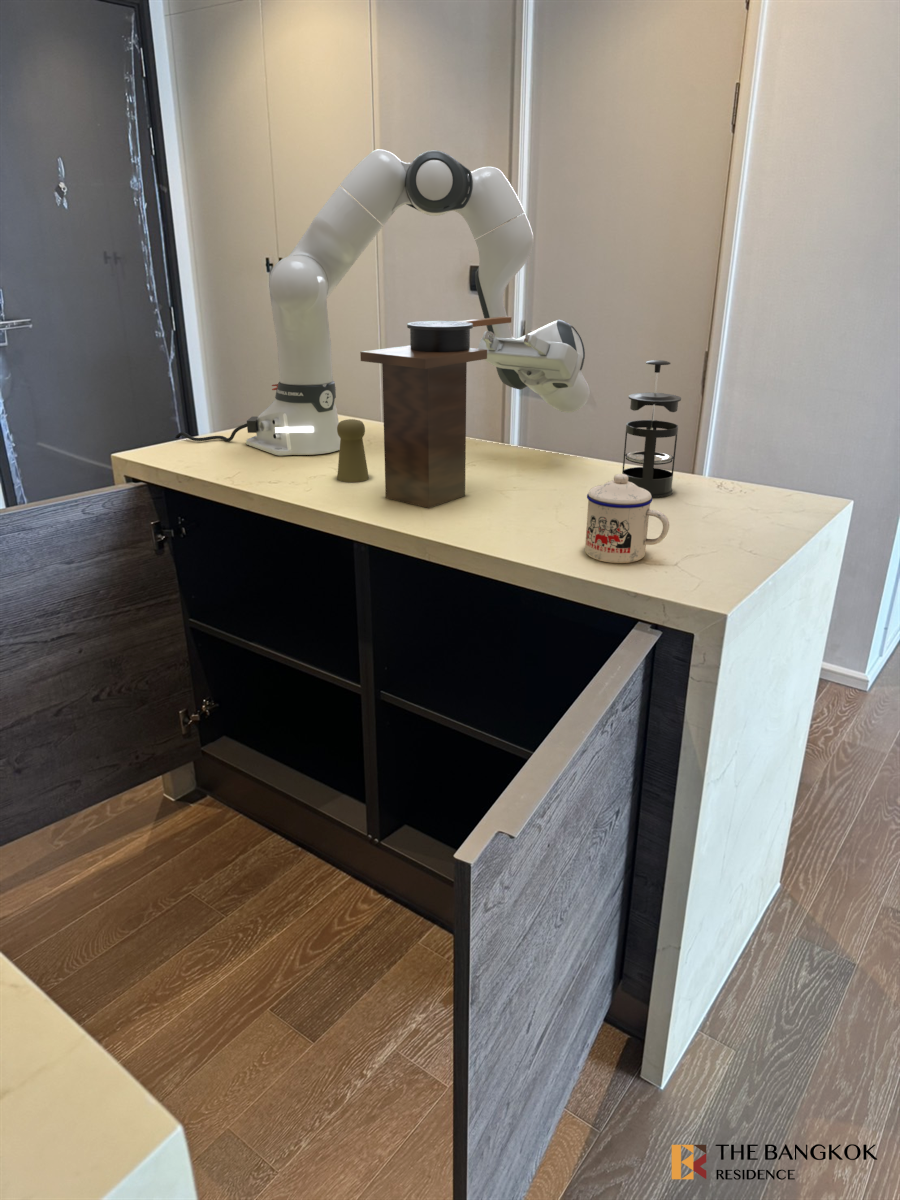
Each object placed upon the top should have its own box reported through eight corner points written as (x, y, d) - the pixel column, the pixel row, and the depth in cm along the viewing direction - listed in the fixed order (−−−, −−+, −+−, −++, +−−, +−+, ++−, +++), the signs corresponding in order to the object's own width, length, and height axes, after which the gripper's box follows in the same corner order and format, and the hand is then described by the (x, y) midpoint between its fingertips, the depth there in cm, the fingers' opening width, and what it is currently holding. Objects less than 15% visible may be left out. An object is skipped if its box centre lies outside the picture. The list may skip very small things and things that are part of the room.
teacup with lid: (573, 557, 124) (578, 477, 119) (597, 539, 131) (602, 464, 126) (654, 572, 118) (662, 490, 113) (674, 553, 125) (683, 475, 121)
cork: (367, 482, 161) (365, 423, 157) (335, 482, 161) (332, 423, 157) (370, 474, 167) (368, 417, 163) (339, 474, 167) (336, 417, 163)
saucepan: (393, 348, 145) (393, 324, 143) (483, 337, 163) (483, 314, 161) (444, 354, 138) (444, 328, 137) (531, 341, 156) (532, 318, 155)
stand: (365, 499, 151) (360, 351, 141) (424, 481, 162) (423, 343, 152) (426, 514, 142) (425, 358, 133) (484, 494, 154) (487, 349, 144)
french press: (673, 500, 151) (687, 365, 142) (618, 497, 152) (629, 363, 144) (671, 483, 161) (685, 356, 152) (620, 480, 163) (631, 355, 154)
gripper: (503, 349, 176) (467, 317, 165) (590, 356, 165) (558, 323, 153) (493, 378, 176) (457, 348, 165) (580, 387, 164) (547, 356, 153)
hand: (506, 336), depth 159 cm, fingers open, 8 cm apart
